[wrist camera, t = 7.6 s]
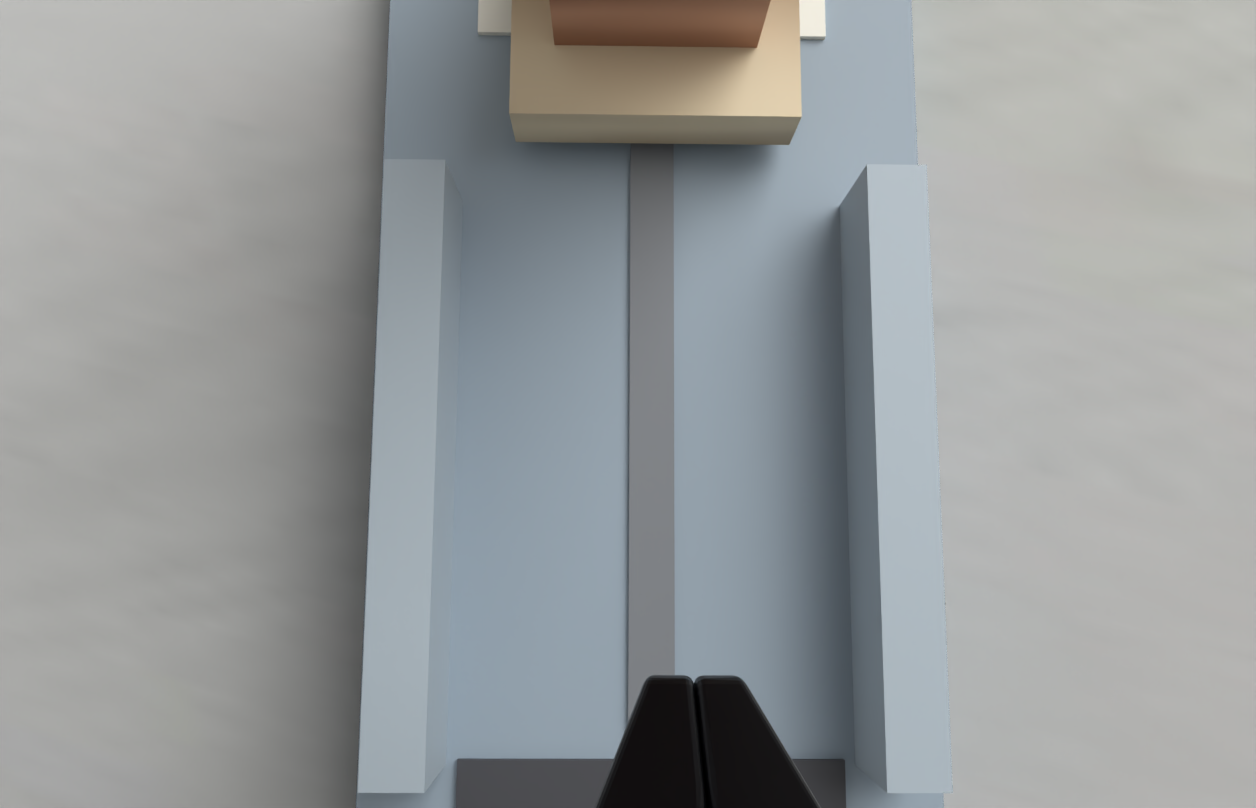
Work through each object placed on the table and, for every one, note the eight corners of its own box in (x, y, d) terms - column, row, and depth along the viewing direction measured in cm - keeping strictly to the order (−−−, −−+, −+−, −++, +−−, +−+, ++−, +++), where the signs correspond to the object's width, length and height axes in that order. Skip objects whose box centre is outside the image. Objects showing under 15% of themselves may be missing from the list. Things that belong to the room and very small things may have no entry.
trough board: (929, 899, 18) (993, 968, 15) (365, 900, 18) (315, 970, 15) (893, -58, 20) (942, -162, 17) (405, -65, 20) (369, -171, 17)
